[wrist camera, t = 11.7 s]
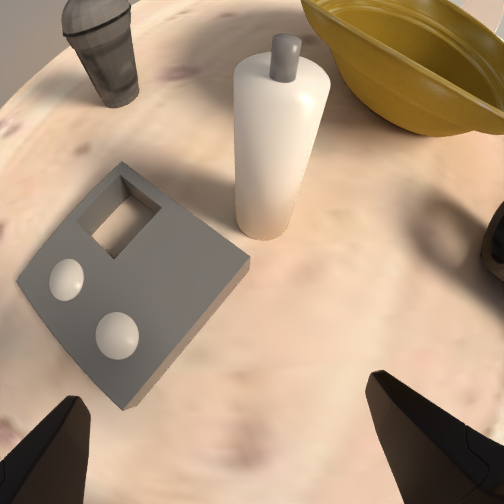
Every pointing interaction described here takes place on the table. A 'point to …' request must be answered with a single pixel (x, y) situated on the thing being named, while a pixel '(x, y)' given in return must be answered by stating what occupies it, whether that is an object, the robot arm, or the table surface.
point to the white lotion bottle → (274, 133)
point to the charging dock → (130, 286)
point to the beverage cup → (104, 46)
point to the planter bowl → (416, 62)
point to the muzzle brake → (495, 244)
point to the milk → (485, 12)
